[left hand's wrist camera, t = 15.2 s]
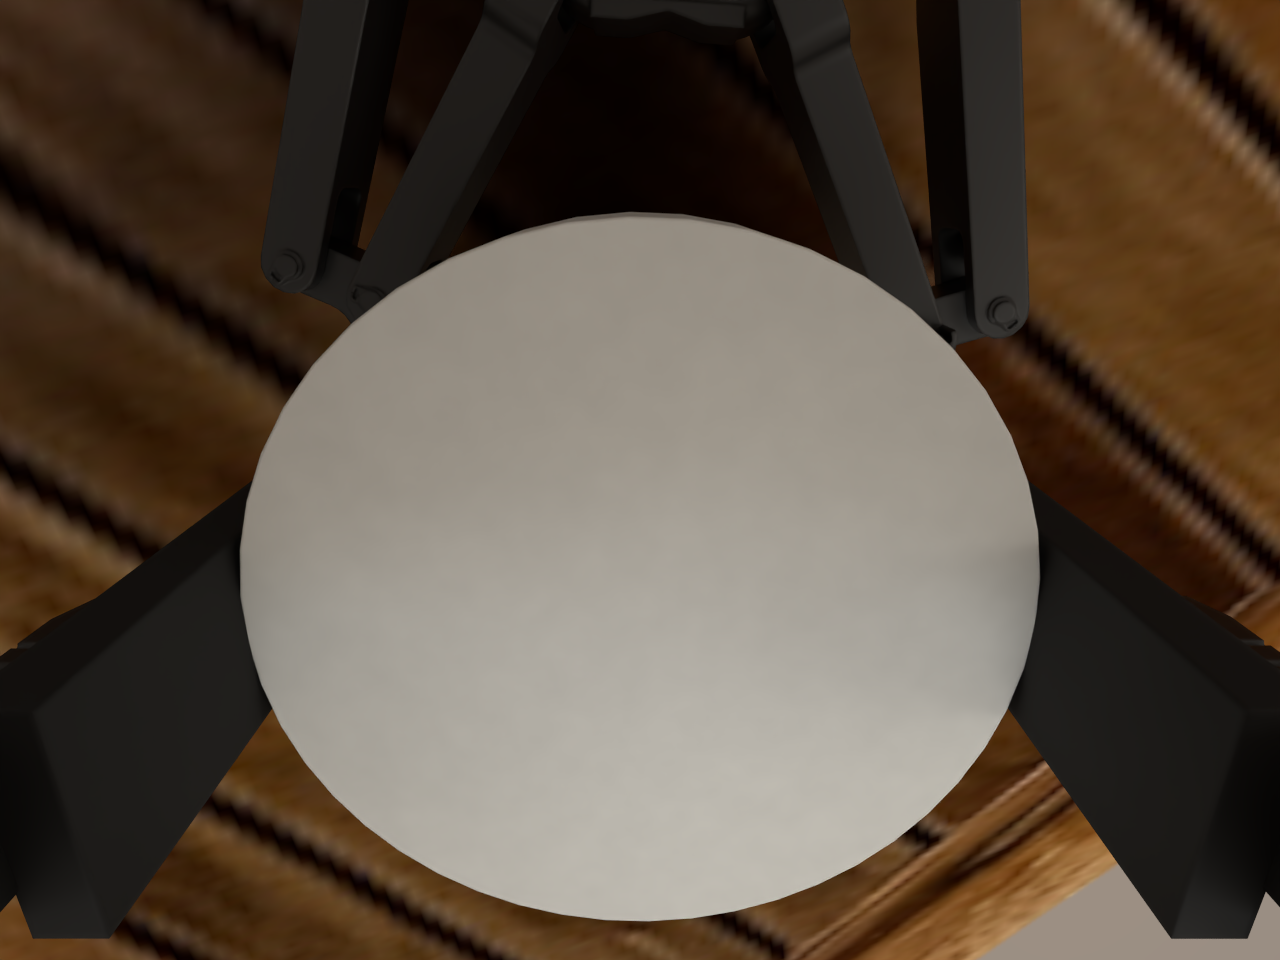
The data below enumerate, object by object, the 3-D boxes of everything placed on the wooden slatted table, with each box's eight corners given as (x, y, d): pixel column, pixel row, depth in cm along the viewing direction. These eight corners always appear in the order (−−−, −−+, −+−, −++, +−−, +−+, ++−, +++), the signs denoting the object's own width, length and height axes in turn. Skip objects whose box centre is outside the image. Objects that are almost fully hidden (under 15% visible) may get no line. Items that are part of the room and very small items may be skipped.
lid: (399, 868, 14) (367, 956, 12) (189, 281, 10) (106, 298, 9) (985, 797, 13) (1031, 880, 12) (987, 148, 10) (1055, 140, 8)
